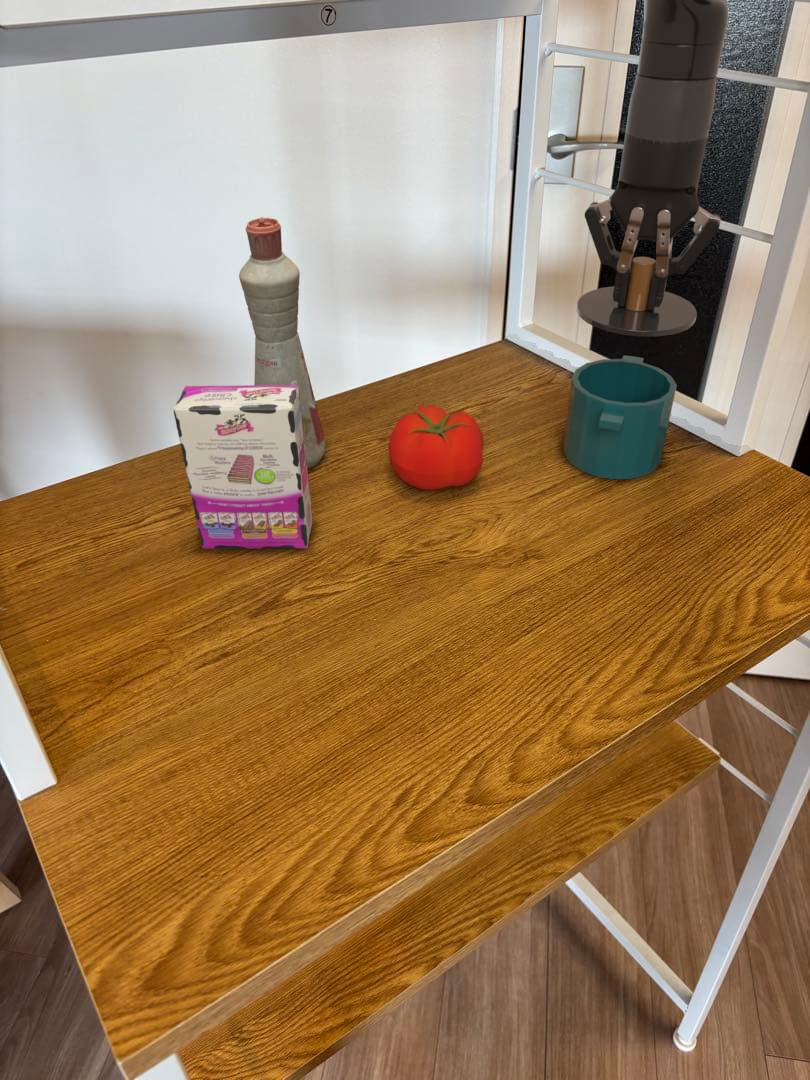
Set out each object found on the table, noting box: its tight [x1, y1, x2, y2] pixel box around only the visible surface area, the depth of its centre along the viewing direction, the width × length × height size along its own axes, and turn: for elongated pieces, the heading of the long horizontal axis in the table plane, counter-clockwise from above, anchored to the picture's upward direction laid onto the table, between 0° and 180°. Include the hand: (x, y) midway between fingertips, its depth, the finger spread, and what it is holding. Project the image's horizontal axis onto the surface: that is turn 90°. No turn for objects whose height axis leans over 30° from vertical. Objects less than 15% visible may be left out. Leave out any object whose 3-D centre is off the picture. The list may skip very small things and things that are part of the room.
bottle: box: [238, 216, 326, 470], centre depth 90 cm, size 9×9×28 cm
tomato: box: [387, 405, 485, 491], centre depth 93 cm, size 11×11×8 cm
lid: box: [576, 256, 698, 338], centre depth 87 cm, size 12×12×6 cm
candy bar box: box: [173, 384, 314, 550], centre depth 82 cm, size 11×5×16 cm, turn 89°
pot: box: [562, 354, 678, 480], centre depth 96 cm, size 11×17×10 cm
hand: (636, 306), depth 88 cm, fingers closed on lid, 2 cm apart
